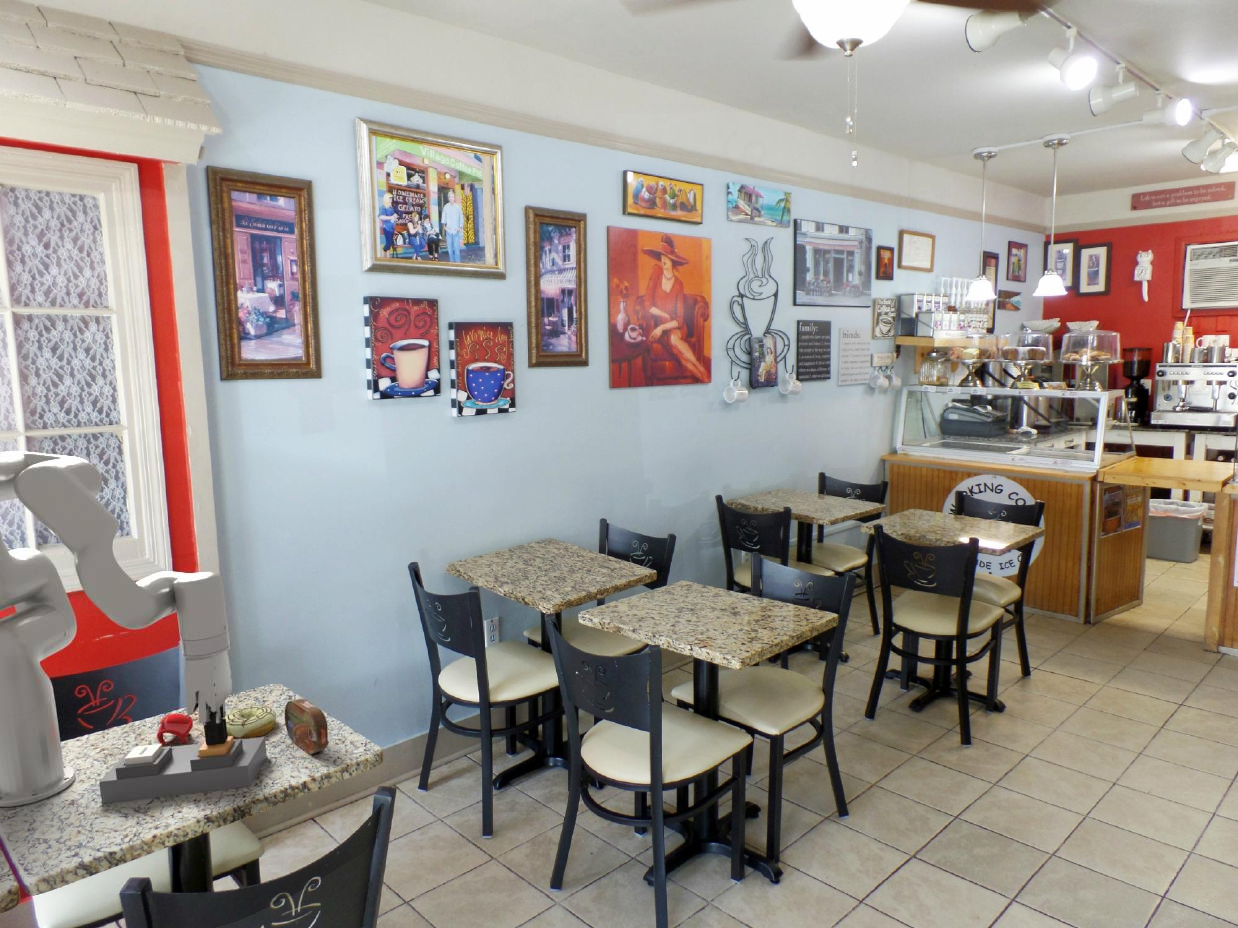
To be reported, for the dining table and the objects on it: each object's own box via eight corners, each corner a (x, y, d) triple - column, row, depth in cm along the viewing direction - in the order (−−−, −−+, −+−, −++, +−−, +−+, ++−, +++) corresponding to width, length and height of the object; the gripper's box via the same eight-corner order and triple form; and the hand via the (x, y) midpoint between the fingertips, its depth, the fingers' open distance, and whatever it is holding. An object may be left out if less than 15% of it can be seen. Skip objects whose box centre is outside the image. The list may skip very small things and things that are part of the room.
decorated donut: (238, 747, 157) (236, 729, 156) (209, 734, 163) (207, 716, 163) (287, 726, 165) (285, 708, 165) (258, 714, 171) (256, 697, 171)
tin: (284, 736, 161) (281, 696, 159) (300, 730, 163) (296, 691, 162) (316, 761, 150) (312, 718, 149) (333, 754, 152) (329, 712, 151)
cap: (187, 733, 156) (199, 707, 161) (154, 727, 155) (167, 701, 159) (185, 755, 161) (196, 728, 165) (153, 750, 159) (165, 723, 164)
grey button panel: (102, 803, 138) (97, 770, 137) (130, 771, 148) (126, 741, 148) (249, 786, 141) (246, 754, 140) (266, 756, 152) (263, 726, 151)
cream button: (126, 771, 139) (124, 757, 138) (136, 759, 143) (135, 745, 143) (153, 768, 139) (151, 754, 139) (163, 756, 144) (161, 743, 143)
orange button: (199, 762, 141) (198, 749, 140) (208, 751, 145) (207, 738, 145) (226, 760, 141) (225, 746, 141) (234, 748, 146) (232, 735, 145)
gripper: (198, 631, 147) (209, 726, 150) (165, 660, 133) (178, 765, 135) (241, 627, 148) (251, 721, 151) (214, 656, 134) (226, 760, 136)
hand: (217, 742), depth 143 cm, fingers closed
